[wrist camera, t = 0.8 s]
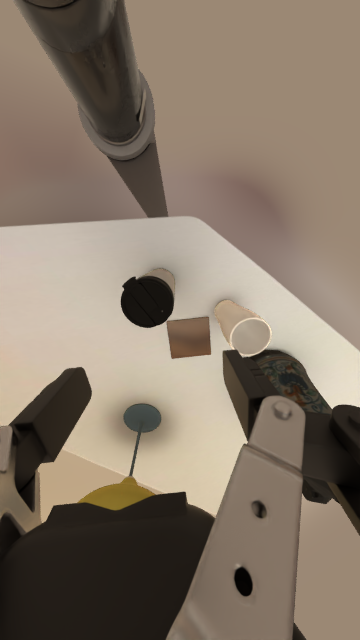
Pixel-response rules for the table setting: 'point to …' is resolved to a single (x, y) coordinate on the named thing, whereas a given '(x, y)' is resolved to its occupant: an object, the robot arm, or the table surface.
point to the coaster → (189, 337)
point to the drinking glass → (243, 328)
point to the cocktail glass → (128, 490)
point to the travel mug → (149, 298)
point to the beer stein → (301, 390)
